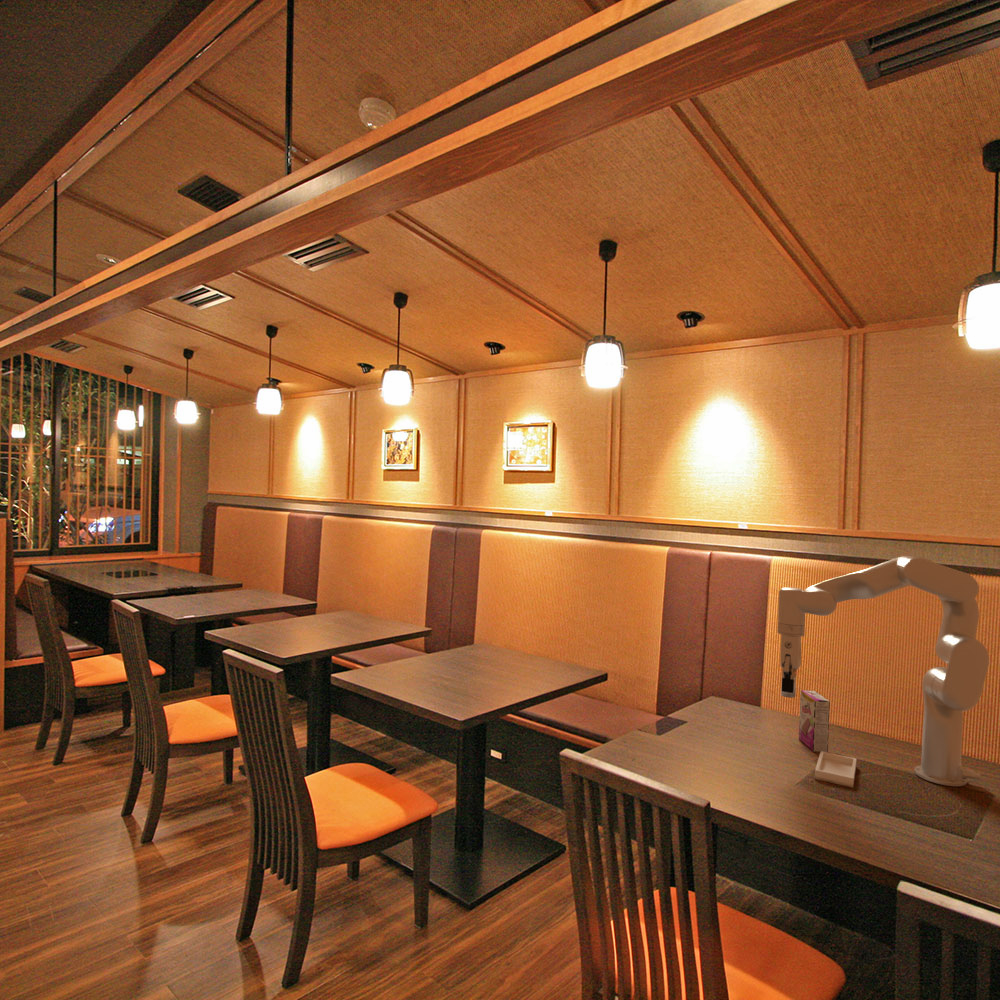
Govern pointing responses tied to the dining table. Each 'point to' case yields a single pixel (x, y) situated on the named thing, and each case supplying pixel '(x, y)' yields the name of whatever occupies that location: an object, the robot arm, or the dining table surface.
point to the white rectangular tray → (836, 769)
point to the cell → (792, 695)
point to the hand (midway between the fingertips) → (788, 689)
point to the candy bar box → (814, 720)
